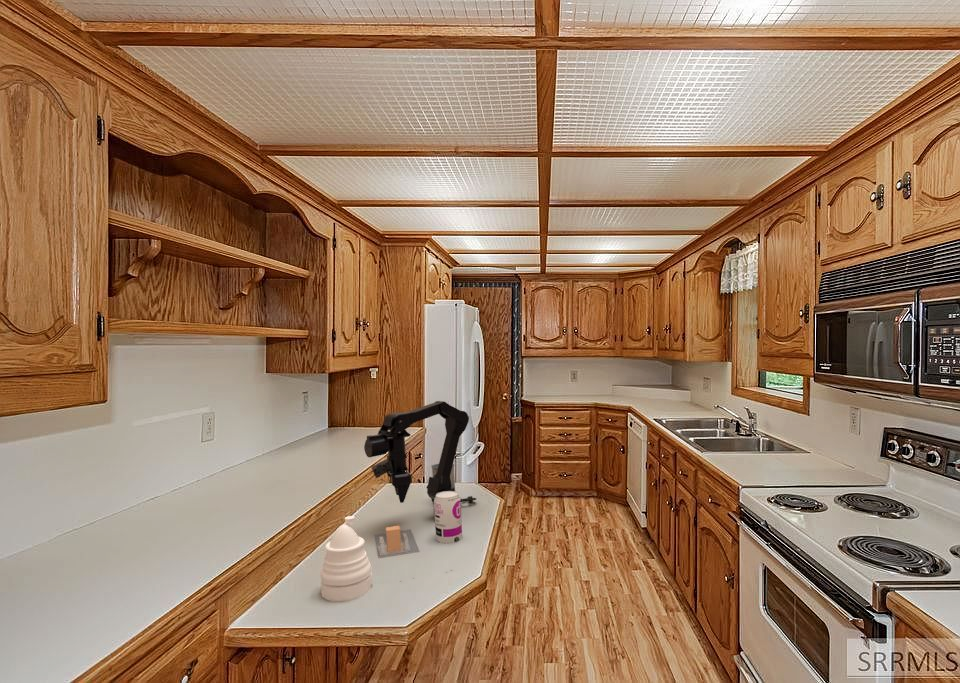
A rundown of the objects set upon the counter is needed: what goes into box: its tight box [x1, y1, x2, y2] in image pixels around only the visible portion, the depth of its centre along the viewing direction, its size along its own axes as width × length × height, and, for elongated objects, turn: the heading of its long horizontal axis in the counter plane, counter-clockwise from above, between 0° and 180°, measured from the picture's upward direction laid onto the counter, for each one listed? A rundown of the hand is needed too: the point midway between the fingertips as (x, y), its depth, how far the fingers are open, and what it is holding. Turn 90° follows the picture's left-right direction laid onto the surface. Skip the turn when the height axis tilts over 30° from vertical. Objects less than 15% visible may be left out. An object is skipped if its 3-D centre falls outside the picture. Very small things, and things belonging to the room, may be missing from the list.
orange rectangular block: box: [385, 525, 401, 551], centre depth 156 cm, size 4×3×6 cm
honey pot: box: [320, 515, 373, 602], centre depth 135 cm, size 13×13×18 cm
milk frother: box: [431, 463, 477, 505], centre depth 201 cm, size 14×16×15 cm
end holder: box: [378, 533, 411, 557], centre depth 156 cm, size 9×7×4 cm
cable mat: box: [373, 528, 421, 559], centre depth 161 cm, size 12×20×1 cm, turn 15°
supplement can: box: [433, 491, 463, 544], centre depth 163 cm, size 8×8×15 cm
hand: (400, 498), depth 172 cm, fingers open, 9 cm apart
